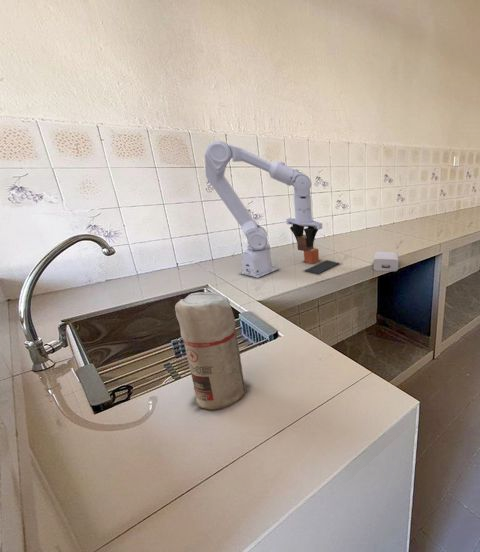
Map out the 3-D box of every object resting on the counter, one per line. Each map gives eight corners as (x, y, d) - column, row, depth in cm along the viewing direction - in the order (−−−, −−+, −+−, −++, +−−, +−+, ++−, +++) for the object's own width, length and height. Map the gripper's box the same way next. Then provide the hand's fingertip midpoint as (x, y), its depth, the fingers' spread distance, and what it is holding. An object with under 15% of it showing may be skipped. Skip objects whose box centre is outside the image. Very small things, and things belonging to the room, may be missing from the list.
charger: (397, 258, 139) (398, 271, 125) (375, 258, 139) (373, 270, 125) (397, 248, 137) (398, 259, 123) (375, 247, 137) (373, 258, 123)
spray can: (189, 393, 61) (166, 294, 54) (236, 374, 67) (220, 282, 60) (204, 419, 56) (180, 313, 49) (253, 396, 61) (238, 298, 54)
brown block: (306, 251, 121) (305, 237, 119) (297, 249, 122) (296, 236, 120) (313, 248, 124) (312, 235, 122) (305, 247, 126) (304, 234, 124)
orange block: (312, 263, 130) (311, 251, 128) (304, 261, 131) (303, 249, 129) (319, 260, 134) (319, 248, 132) (311, 258, 135) (311, 246, 133)
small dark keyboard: (318, 274, 119) (318, 273, 119) (305, 271, 122) (304, 270, 122) (339, 264, 130) (339, 263, 130) (326, 261, 133) (326, 260, 133)
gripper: (326, 209, 118) (328, 246, 123) (294, 205, 124) (297, 240, 129) (314, 212, 112) (316, 250, 117) (280, 207, 118) (284, 244, 123)
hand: (305, 245), depth 123 cm, fingers closed on brown block, 4 cm apart
